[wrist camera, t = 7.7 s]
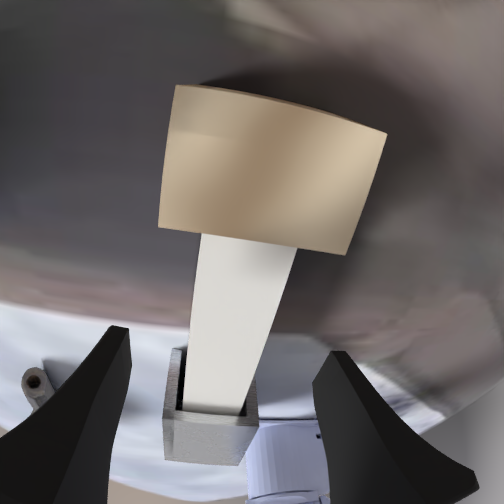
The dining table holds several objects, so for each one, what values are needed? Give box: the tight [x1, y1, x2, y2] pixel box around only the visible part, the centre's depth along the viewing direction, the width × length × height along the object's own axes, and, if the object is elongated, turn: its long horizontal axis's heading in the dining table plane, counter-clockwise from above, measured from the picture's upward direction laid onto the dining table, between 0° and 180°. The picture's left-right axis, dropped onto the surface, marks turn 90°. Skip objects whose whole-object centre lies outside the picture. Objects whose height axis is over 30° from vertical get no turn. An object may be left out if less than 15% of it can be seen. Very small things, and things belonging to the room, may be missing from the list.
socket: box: [158, 85, 387, 255], centre depth 13 cm, size 7×5×6 cm
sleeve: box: [162, 349, 260, 466], centre depth 23 cm, size 7×9×6 cm
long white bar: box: [182, 233, 297, 416], centre depth 18 cm, size 4×17×5 cm, turn 168°
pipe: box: [21, 367, 55, 414], centre depth 24 cm, size 6×13×8 cm, turn 163°
